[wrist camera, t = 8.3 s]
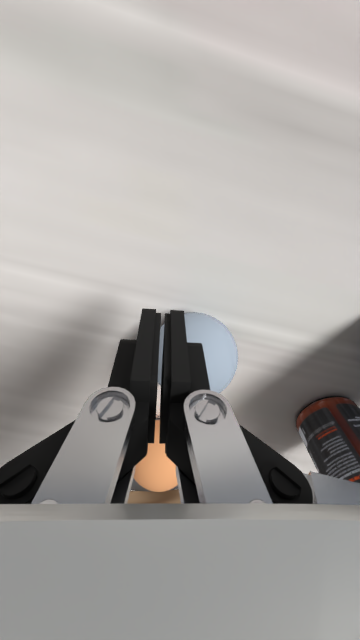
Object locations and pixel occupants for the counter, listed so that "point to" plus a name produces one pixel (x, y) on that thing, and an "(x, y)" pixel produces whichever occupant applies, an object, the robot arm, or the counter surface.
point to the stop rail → (154, 497)
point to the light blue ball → (209, 348)
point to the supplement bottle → (332, 436)
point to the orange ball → (156, 467)
